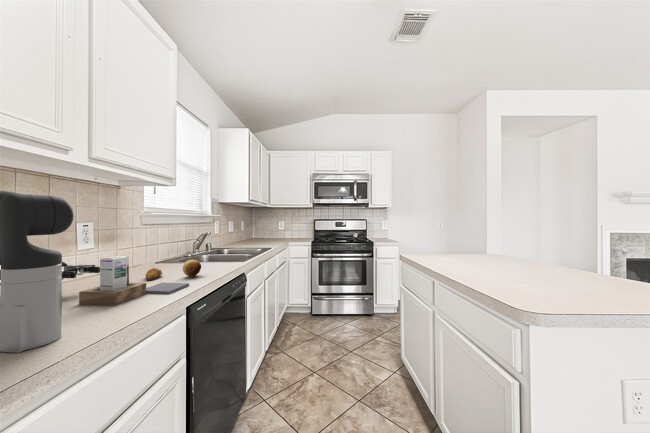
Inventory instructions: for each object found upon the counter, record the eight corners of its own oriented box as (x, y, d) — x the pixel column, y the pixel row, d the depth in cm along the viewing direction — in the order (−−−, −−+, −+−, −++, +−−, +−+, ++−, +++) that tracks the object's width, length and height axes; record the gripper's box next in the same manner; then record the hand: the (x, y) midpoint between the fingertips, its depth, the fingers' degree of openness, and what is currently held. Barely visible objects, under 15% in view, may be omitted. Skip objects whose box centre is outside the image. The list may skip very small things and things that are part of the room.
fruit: (203, 274, 129) (203, 258, 130) (196, 278, 121) (196, 261, 121) (187, 274, 129) (187, 258, 129) (179, 278, 121) (179, 261, 121)
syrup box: (113, 301, 87) (113, 258, 87) (99, 300, 89) (99, 257, 89) (129, 296, 93) (129, 256, 93) (115, 295, 94) (116, 255, 94)
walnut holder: (115, 305, 84) (115, 292, 84) (79, 304, 85) (79, 291, 85) (146, 293, 97) (146, 283, 97) (114, 292, 98) (114, 282, 98)
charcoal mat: (169, 294, 96) (169, 291, 96) (139, 293, 98) (139, 290, 98) (189, 285, 108) (189, 283, 108) (162, 284, 109) (162, 282, 109)
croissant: (158, 281, 117) (158, 270, 117) (140, 282, 115) (140, 271, 115) (166, 275, 130) (166, 264, 130) (150, 275, 128) (150, 265, 128)
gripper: (21, 264, 86) (65, 265, 85) (68, 257, 101) (106, 258, 99) (21, 287, 86) (65, 288, 85) (67, 277, 100) (106, 278, 99)
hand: (87, 272), depth 92 cm, fingers open, 8 cm apart
